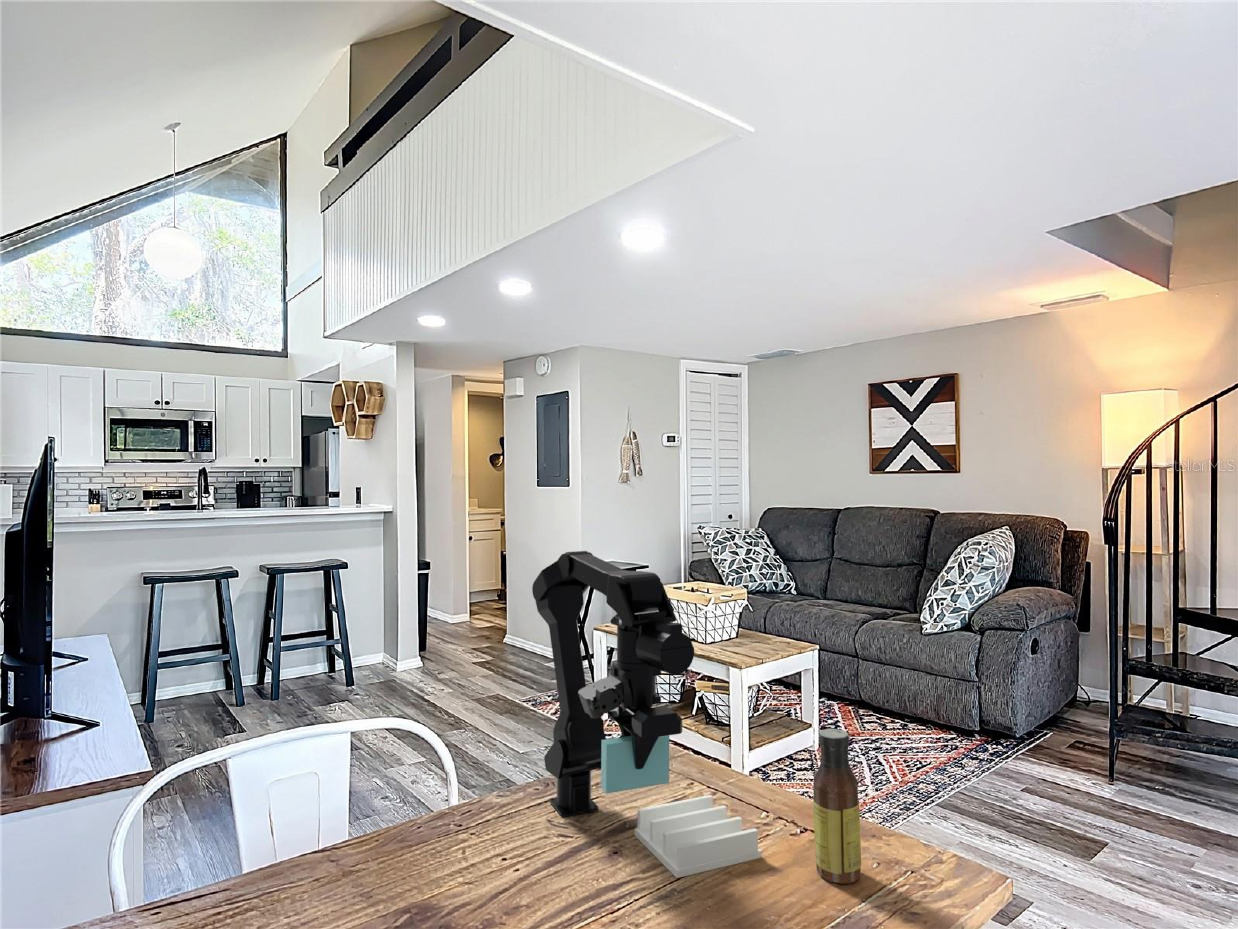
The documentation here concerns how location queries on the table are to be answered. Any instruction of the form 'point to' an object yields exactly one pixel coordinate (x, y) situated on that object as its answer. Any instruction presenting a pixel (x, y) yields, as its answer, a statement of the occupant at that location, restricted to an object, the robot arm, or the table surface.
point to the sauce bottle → (836, 811)
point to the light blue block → (632, 765)
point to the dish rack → (695, 836)
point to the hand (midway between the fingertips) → (636, 766)
